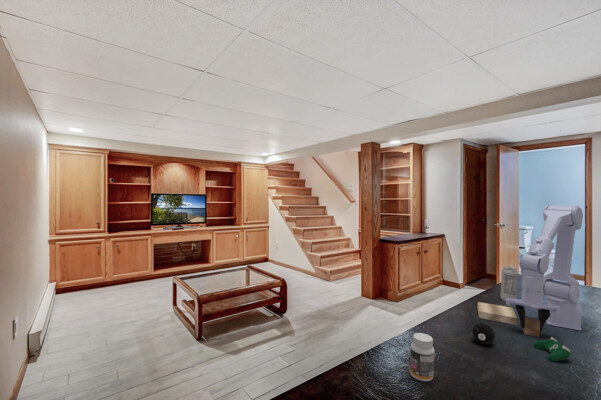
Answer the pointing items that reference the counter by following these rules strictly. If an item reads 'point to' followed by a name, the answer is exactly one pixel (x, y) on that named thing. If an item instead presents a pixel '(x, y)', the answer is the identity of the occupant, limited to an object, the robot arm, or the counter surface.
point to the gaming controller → (553, 349)
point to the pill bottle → (422, 357)
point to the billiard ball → (483, 333)
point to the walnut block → (532, 326)
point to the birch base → (496, 313)
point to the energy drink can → (509, 283)
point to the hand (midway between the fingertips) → (530, 329)
